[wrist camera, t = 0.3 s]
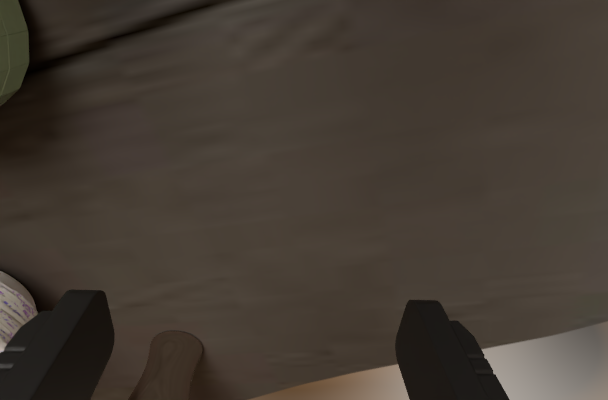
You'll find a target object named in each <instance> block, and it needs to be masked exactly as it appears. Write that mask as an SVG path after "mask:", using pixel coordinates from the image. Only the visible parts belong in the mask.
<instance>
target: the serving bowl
mask: <svg viewBox="0 0 608 400" xmlns="http://www.w3.org/2000/svg"><path fill="white" fill-rule="evenodd" d="M28 65H29V36H28V28H27V25H26V22H25V19H24V16H23V13H22V10H21V7H20V4H19V1H18V0H0V106H1V105H3V104H4V103H5V102H6V101H7V100H8V99H9V98H10V97H11V96H12V95H13V94H14V93H15V92H16V91H17V90H19V89H20V87H21V84H22V81H23V79H24V76H25V73H26V70H27V68H28Z"/></svg>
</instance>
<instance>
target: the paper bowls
mask: <svg viewBox="0 0 608 400" xmlns="http://www.w3.org/2000/svg"><path fill="white" fill-rule="evenodd" d="M37 314H39V313H38V312H37V310H36V305H35V302H34V300H33V298H32V296H31V295H30V293H29V292H28V290H27V289H26V288H25V287H24V286H23V285H22V284H21V283H19V282H18V281H17V280H15V279H14V278H13V277H11V276H9V275H8V274H6V273H4V272H2V271H0V353H1V352H3V351H4V349H5V346H6V345H7V344H8V342H9V341H10V340H11V339H12V337H13V336H14V335H15V333H16V332H17V331H18V330H19V328H20V327H21V326H23V325H24V324H25V323H27V322H28V321H29V320H31V319H32V318H33V317H35V316H36V315H37Z"/></svg>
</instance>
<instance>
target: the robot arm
mask: <svg viewBox="0 0 608 400" xmlns="http://www.w3.org/2000/svg"><path fill="white" fill-rule="evenodd" d="M113 345H114V328H113V324H112V319H111V315H110V311H109V307H108V302H107V298H106V294H105V293H104V291H101V290H69V291H67V292H66V293H65V294H64V295H63V297H62V298H61V299H60V301H59V302H58V304H57V305H56V306H55V308H54V309H53V311H41V312H40V313H39V314H37V315H36V316H35V317H33V318H32V319H31V320H29V321H28V322H27V323H25V324H24V325H23V326H21V327H20V328H19V330H18V331H17V332H16V333H15V335H14V336H13V337H12V339H11V340H10V341H9V342H8V344H7V345H6V346H5V349H4V351H3V352H1V353H0V400H90V399H91V396H92V394H93V392H94V390H95V388H96V386H97V384H98V381H99V379H100V377H101V375H102V373H103V371H104V369H105V366H106V364H107V362H108V360H109V358H110V356H111V353H112V349H113ZM395 349H396V357H397V361H398V364H399V368H400V371H401V374H402V377H403V380H404V383H405V386H406V389H407V392H408V396H409V399H410V400H509V398H508V396H507V394H506V393H505V391H504V389H503V388H502V386H501V384H500V382H499V380H498V379H497V377H496V375H494V374H493V370H492V368H491V366H490V364H489V363H488V361H487V359H485V358H484V354H483V352H482V350H481V348H480V347H479V345H478V343H477V341H476V340H475V338H474V336H473V335H472V334H471V333H470V332H469V331H468V330H467V329H466V328H464V327H463V326H462V325H461V324H460V323H459V322H458V321H449V319H448V317H447V315H446V313H445V311H444V309H443V307H442V305H441V304H440V303H439V302H438V301H433V300H409V301H408V302H407V305H406V308H405V311H404V314H403V317H402V320H401V323H400V327H399V330H398V333H397V336H396V343H395Z"/></svg>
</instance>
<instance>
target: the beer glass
mask: <svg viewBox="0 0 608 400" xmlns="http://www.w3.org/2000/svg"><path fill="white" fill-rule="evenodd" d="M202 353H203V347H202V344H201V343H200V341H199V340H198V339H197V338H195V337H194V336H192V335H190V334H188V333H185V332H181V331H166V332H162V333H160V334H158V335H156V336H155V337H154V338H153V339H152V341H151V344H150V349H149V355H148V360H147V364H146V367H145V369H144V372H143V374H142V376H141V378H140V380H139V381H138V383H137V385H136V387H135V388H134V390H133V392H132V393H131V395H130V397H129V398H128V400H190V390H191V383H192V378H193V374H194V371H195V369H196V367H197V365H198V362H199V360H200V358H201V356H202Z"/></svg>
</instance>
